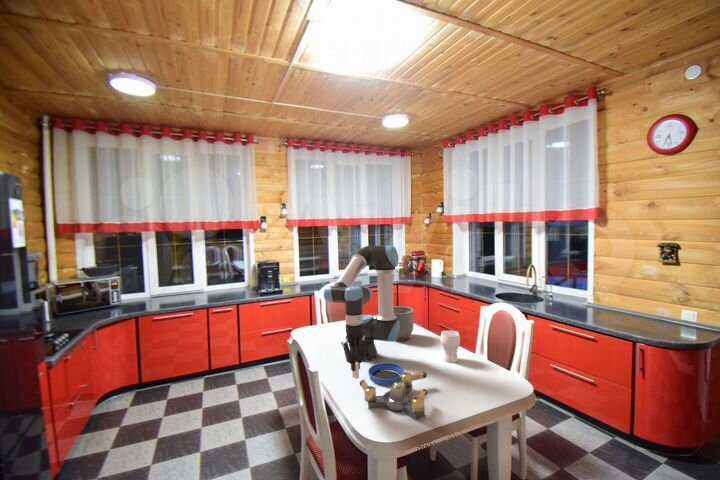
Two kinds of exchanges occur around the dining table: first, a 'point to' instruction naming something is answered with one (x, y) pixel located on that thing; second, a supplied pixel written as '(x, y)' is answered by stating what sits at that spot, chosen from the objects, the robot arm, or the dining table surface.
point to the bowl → (385, 373)
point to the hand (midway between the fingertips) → (355, 377)
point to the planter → (404, 321)
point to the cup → (450, 345)
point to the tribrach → (397, 400)
